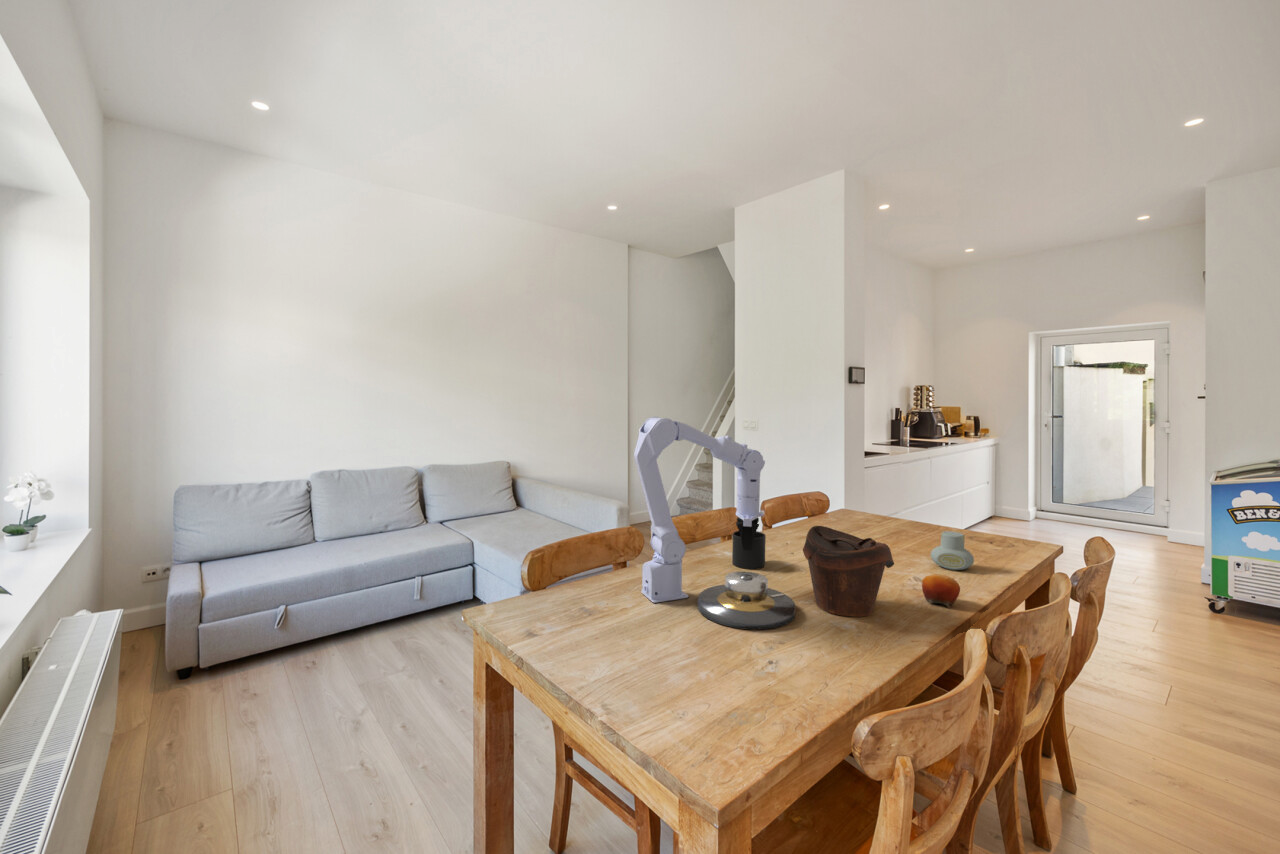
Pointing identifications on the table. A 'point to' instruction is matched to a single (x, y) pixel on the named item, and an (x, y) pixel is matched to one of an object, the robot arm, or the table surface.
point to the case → (845, 570)
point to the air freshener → (952, 552)
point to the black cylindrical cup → (749, 552)
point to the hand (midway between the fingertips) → (747, 547)
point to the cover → (746, 585)
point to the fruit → (940, 589)
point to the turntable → (746, 609)
